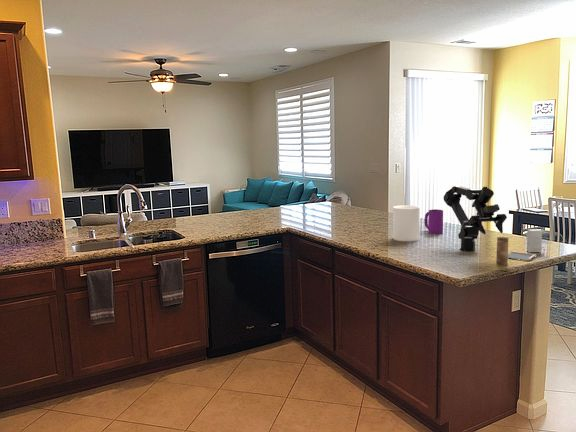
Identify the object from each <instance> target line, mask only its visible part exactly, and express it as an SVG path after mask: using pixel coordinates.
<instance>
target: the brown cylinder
mask: <svg viewBox="0 0 576 432" xmlns="http://www.w3.org/2000/svg"><path fill="white" fill-rule="evenodd" d="M508 254H509V237H506V236H497V238H496V257H495V258H496V259H495V260H496V262H495V263H496V265H498V266H507V265H508Z"/></svg>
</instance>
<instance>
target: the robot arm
mask: <svg viewBox="0 0 576 432" xmlns="http://www.w3.org/2000/svg"><path fill="white" fill-rule="evenodd" d="M494 194H495V193H494V191H493V190H492V189H491V188H488V186H482V188H472V189H471V188H469V187H465V186H462V185H452V187H451V188H450V189H448V190H447V191H446V192H445V194H444V195H443V202H444V203H445V204H446V205H447V206H448V207H450V208H452V211H453V212H454V215H455V216H456V218H457V220H458V222H459V224H460V232H459V233H458V239H460V248H459V250H460V251H466V252H469V251H470V252H473V251H475V250H476V241H475V240H477V239H478V236H479V232H480V233H482V234H484V235H486V233H487V232H486V230H485V227H484V226H483V223H487V222H493V223H494V225H495V227H496V229H497V231H499V233H500V234H503V231H504V230H503V229H504V228H503V224H504V222H505V221H506V220H507V219H508V217H507V214H506V213H498V211H500V206H499V204H496V203H495V204H492V205H487V204H488V203H489V202H490V201H491V199H492V198H493V196H494ZM462 196H465V198H466V199H467V200H469V201H473V202H472V203H471V208H475V211H476V213H475V214H476V215H471V216H470V218H469V217H468V216H467V214H466V212H465V210H464V208H463V206H462V204H461V198H462ZM496 212H497V215H496V216H494V215H495V213H496Z"/></svg>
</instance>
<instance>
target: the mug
mask: <svg viewBox="0 0 576 432" xmlns="http://www.w3.org/2000/svg"><path fill="white" fill-rule="evenodd" d="M424 227H425V228H426V229H427V230H428V233H429V234H432V235H440V234H441V235H442V234H443V233H444V210H443V209H436V208H435V209H429V210H428V211H426V213H425V215H424Z"/></svg>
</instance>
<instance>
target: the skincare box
mask: <svg viewBox="0 0 576 432" xmlns="http://www.w3.org/2000/svg"><path fill="white" fill-rule="evenodd" d="M542 240H543V230H541V229H539V228H534V229H533V228H531V229H526V252H527V251H528V252H527V253H529V252H539V253H542V243H543V241H542Z"/></svg>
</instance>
